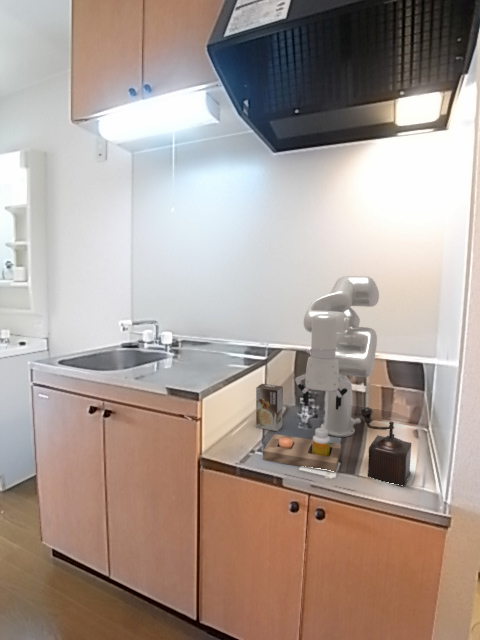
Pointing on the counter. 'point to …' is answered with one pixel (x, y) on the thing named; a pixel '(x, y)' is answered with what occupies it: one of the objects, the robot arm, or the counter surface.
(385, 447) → the manual coffee grinder
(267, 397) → the coffee box
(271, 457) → the board
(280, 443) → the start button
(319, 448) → the supplement bottle
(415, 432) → the counter surface
